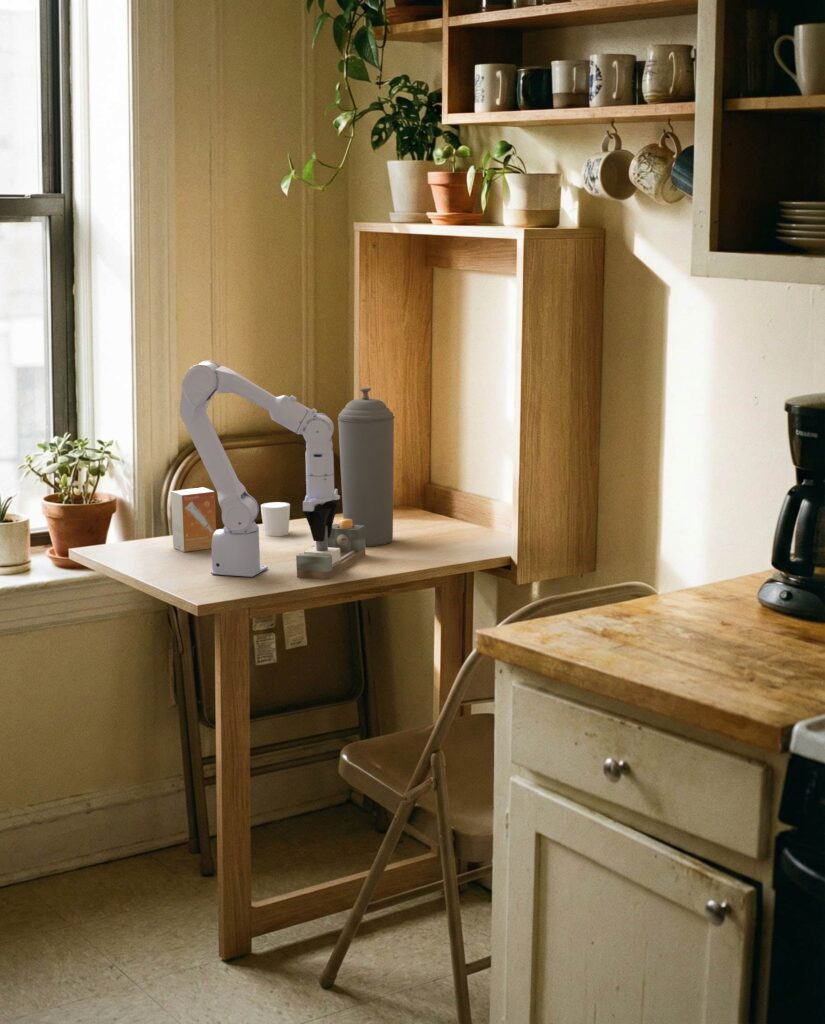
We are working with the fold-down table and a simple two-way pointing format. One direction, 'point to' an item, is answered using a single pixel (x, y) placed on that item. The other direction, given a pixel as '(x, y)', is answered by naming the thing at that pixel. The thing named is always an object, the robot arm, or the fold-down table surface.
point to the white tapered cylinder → (275, 518)
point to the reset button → (346, 523)
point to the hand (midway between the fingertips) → (321, 539)
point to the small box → (193, 518)
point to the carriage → (325, 549)
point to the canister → (368, 466)
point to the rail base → (322, 565)
